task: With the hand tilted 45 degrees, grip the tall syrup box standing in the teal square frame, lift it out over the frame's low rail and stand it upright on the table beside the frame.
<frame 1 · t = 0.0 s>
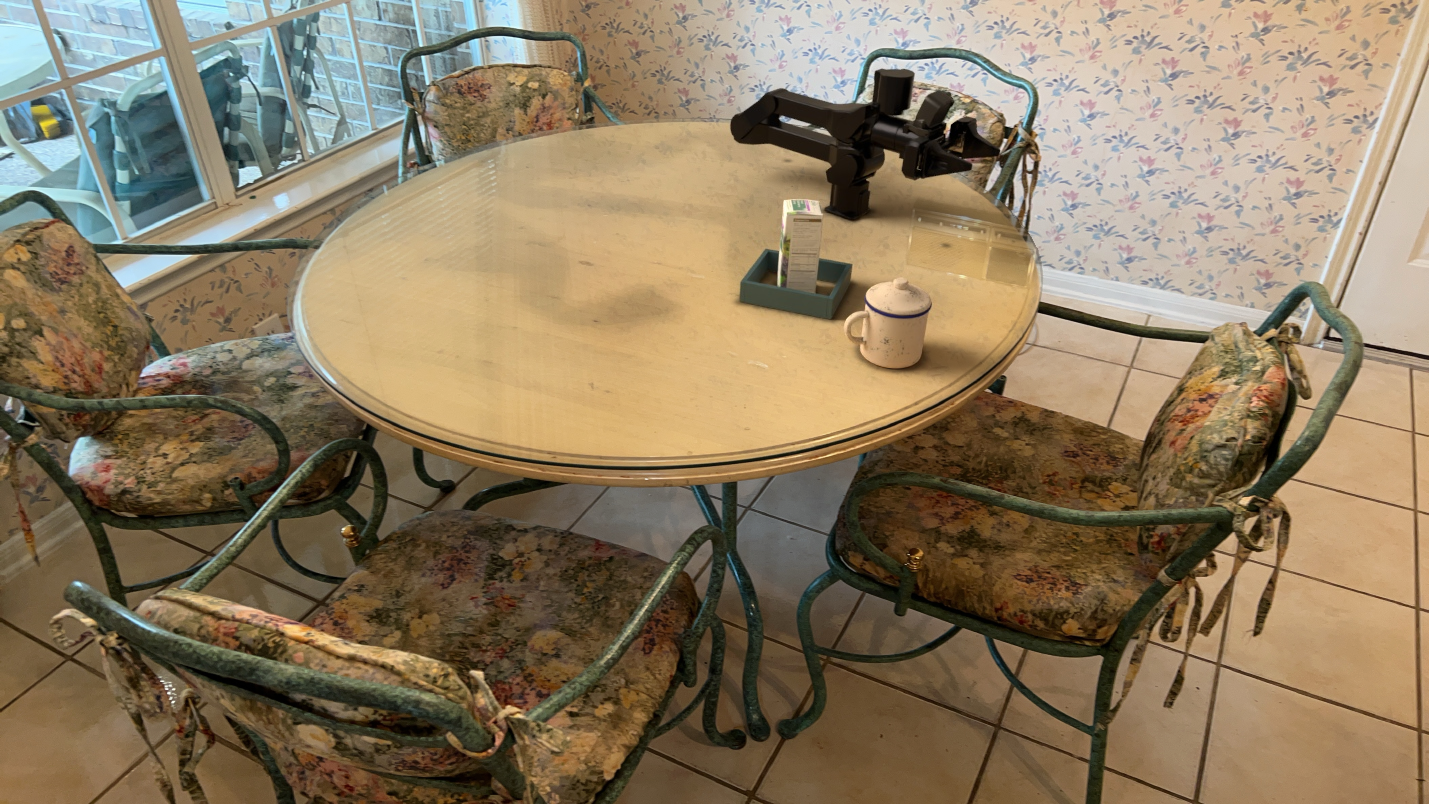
hand: (985, 160, 146), 17 cm above the table, tool horizontal, fingers open, 9 cm apart
teal square frame: (796, 292, 143), on the table
teacup with lid: (880, 355, 128), on the table
syrup box: (795, 293, 143), resting in teal square frame
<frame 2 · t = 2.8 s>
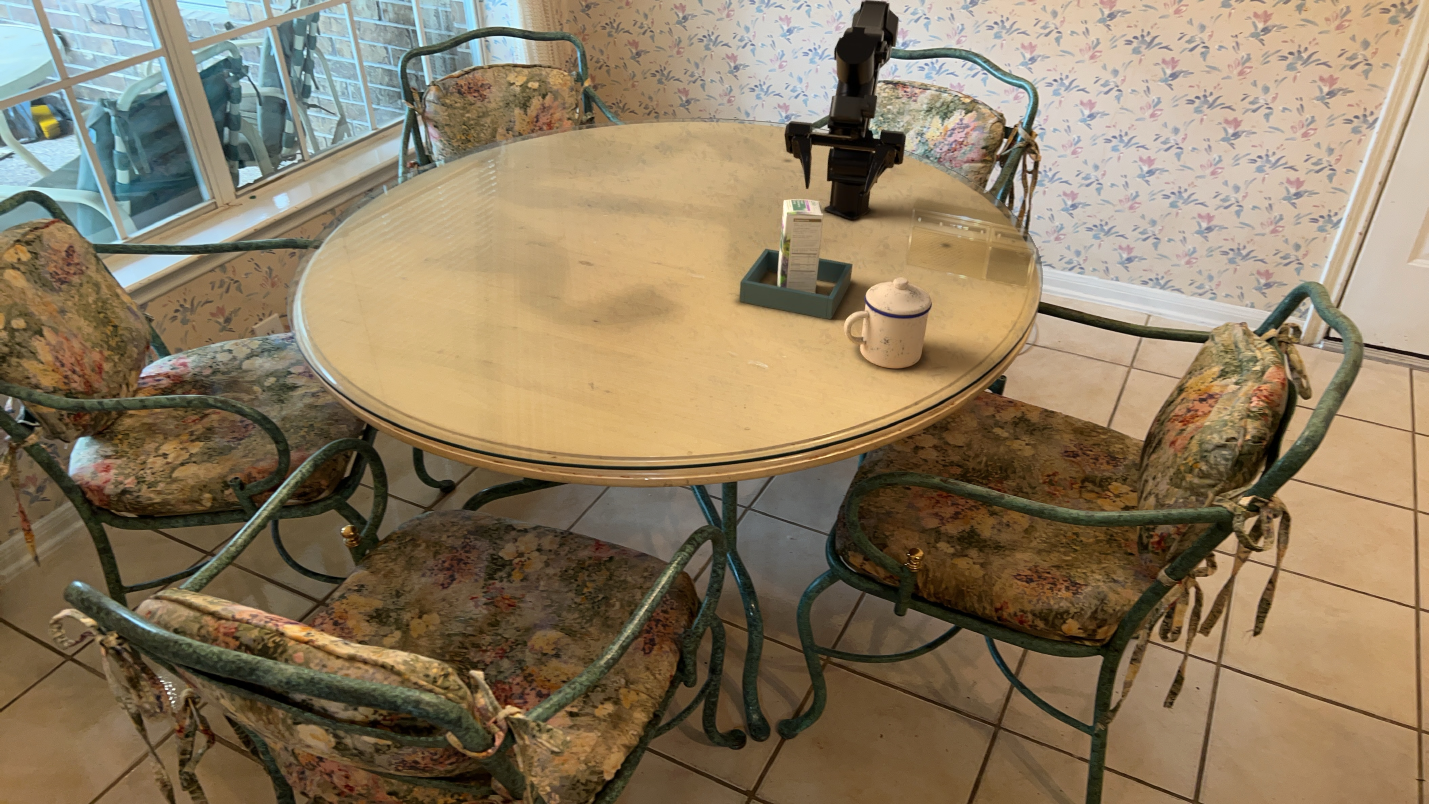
hand: (836, 191, 140), 14 cm above the table, tool tilted 50°, fingers open, 9 cm apart
nothing on the table moved.
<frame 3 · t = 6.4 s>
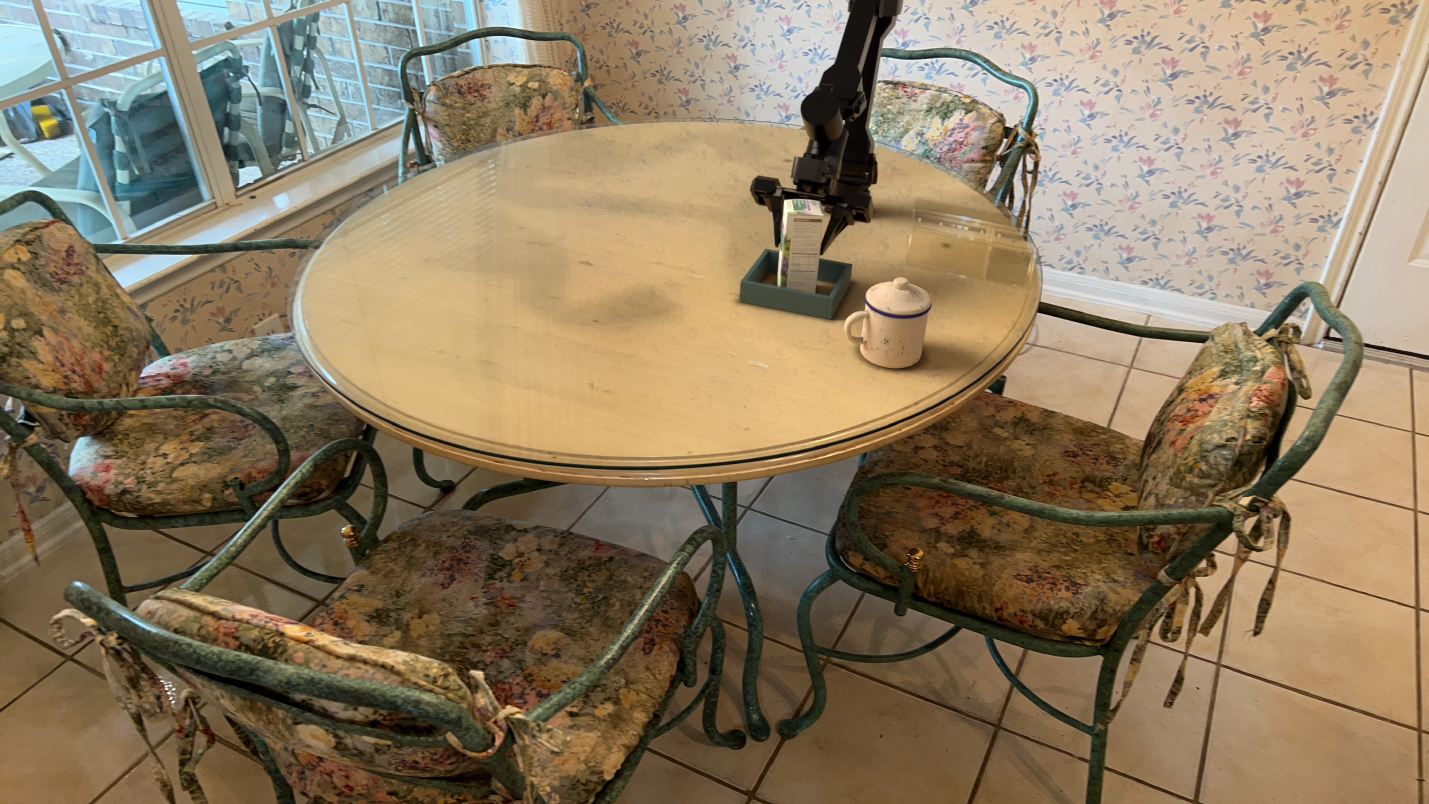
hand: (798, 250, 138), 7 cm above the table, tool tilted 45°, fingers closed on syrup box, 7 cm apart
syrup box: (795, 293, 143), resting in teal square frame, touching gripper
everything else where it was.
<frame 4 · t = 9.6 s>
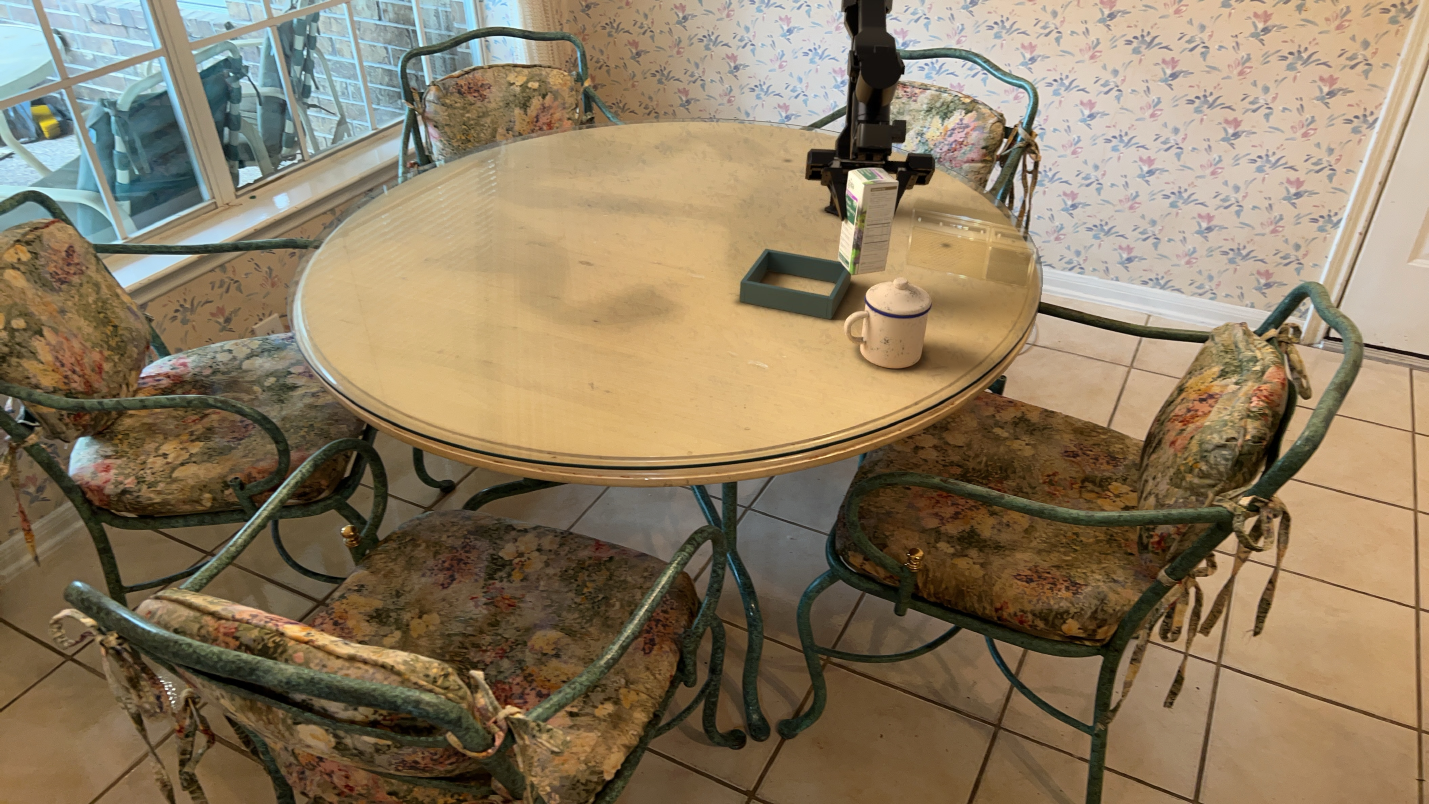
hand: (866, 221, 133), 13 cm above the table, tool tilted 45°, fingers closed on syrup box, 7 cm apart
syrup box: (861, 266, 138), point 6 cm above the table, touching gripper
everything else where it was.
when the fingers open (7 cm above the table, at t = 12.8 s): syrup box stays where it is, on the table.
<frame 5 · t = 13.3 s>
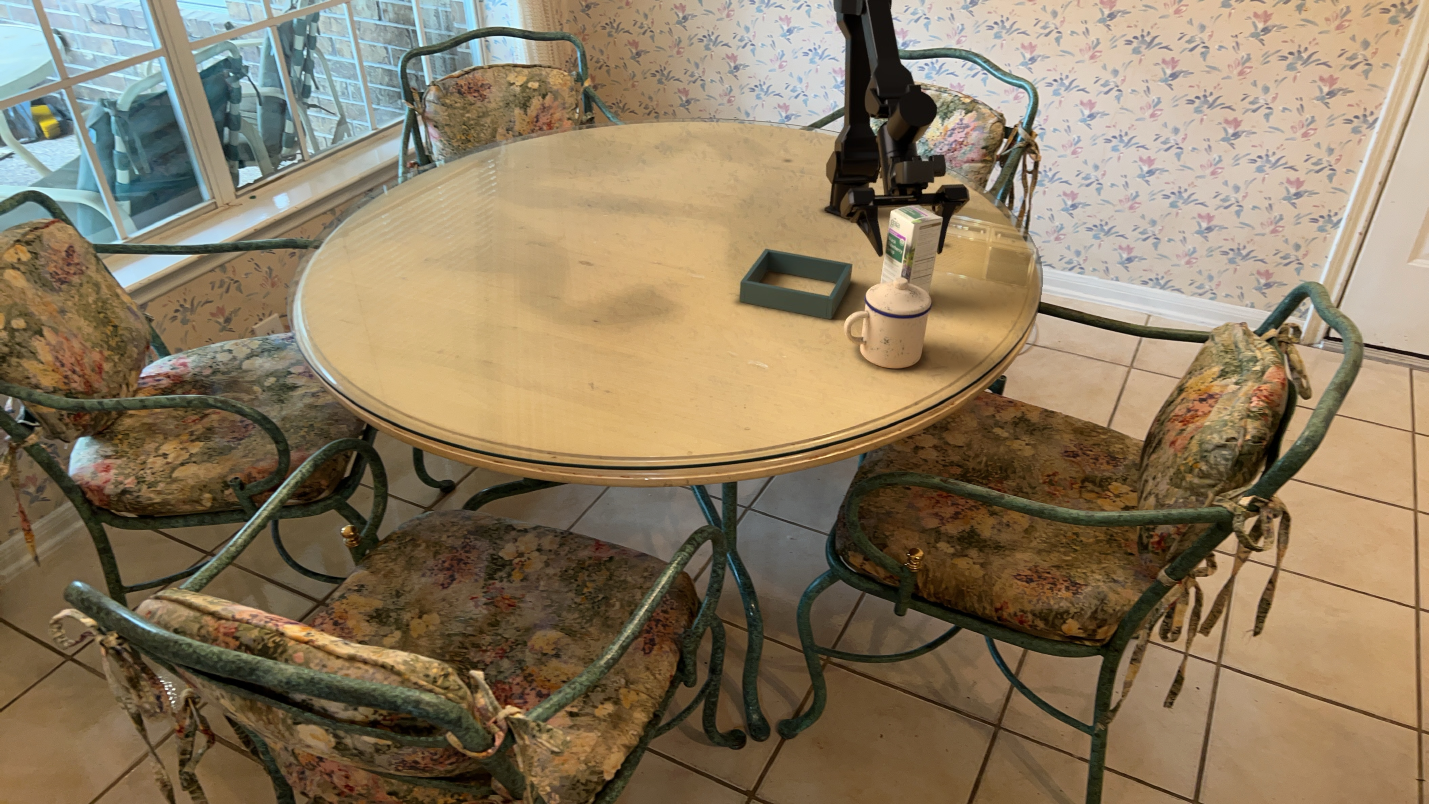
hand: (910, 254, 136), 8 cm above the table, tool tilted 45°, fingers open, 9 cm apart
syrup box: (902, 300, 141), on the table
everything else where it was.
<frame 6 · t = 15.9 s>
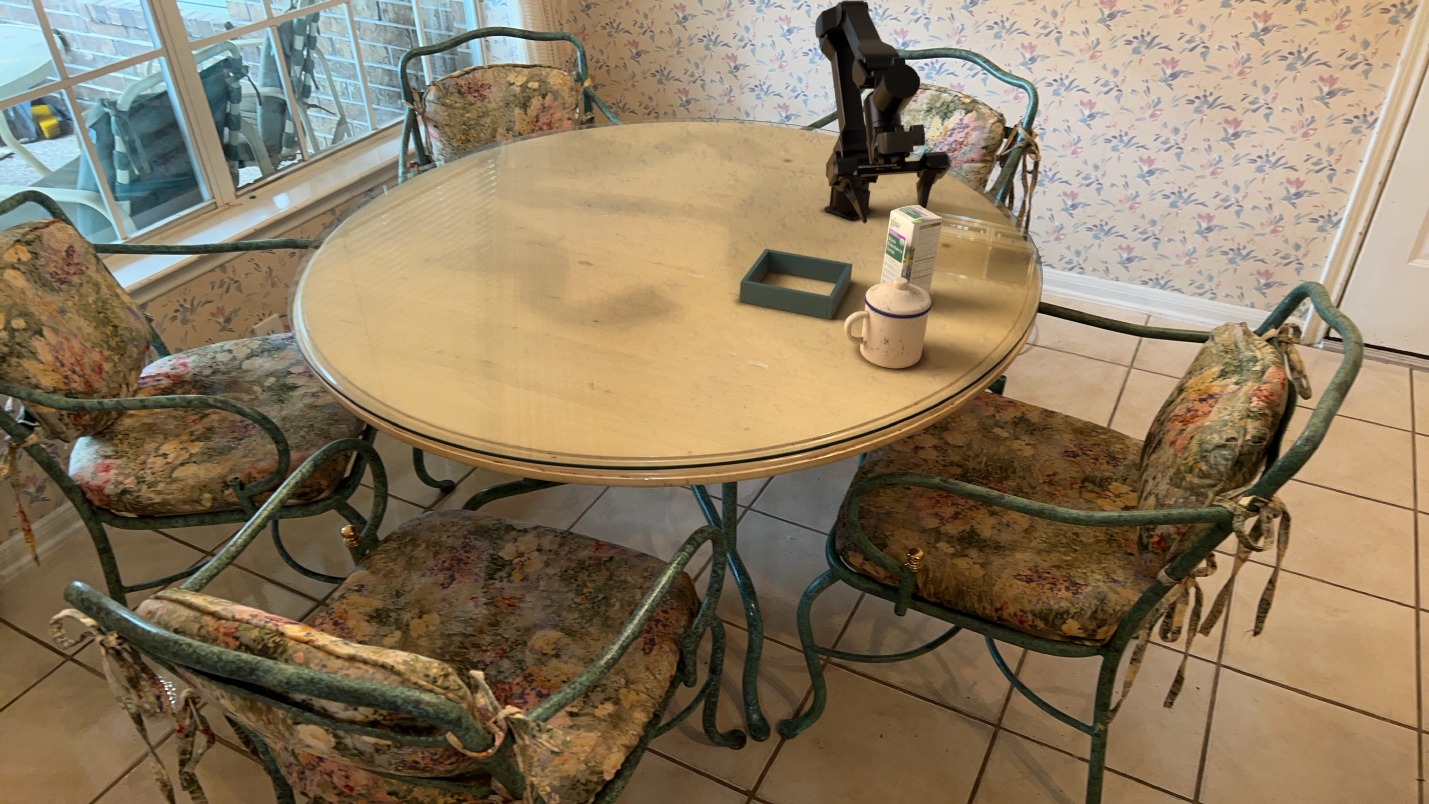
hand: (893, 220, 144), 9 cm above the table, tool tilted 40°, fingers open, 9 cm apart
nothing on the table moved.
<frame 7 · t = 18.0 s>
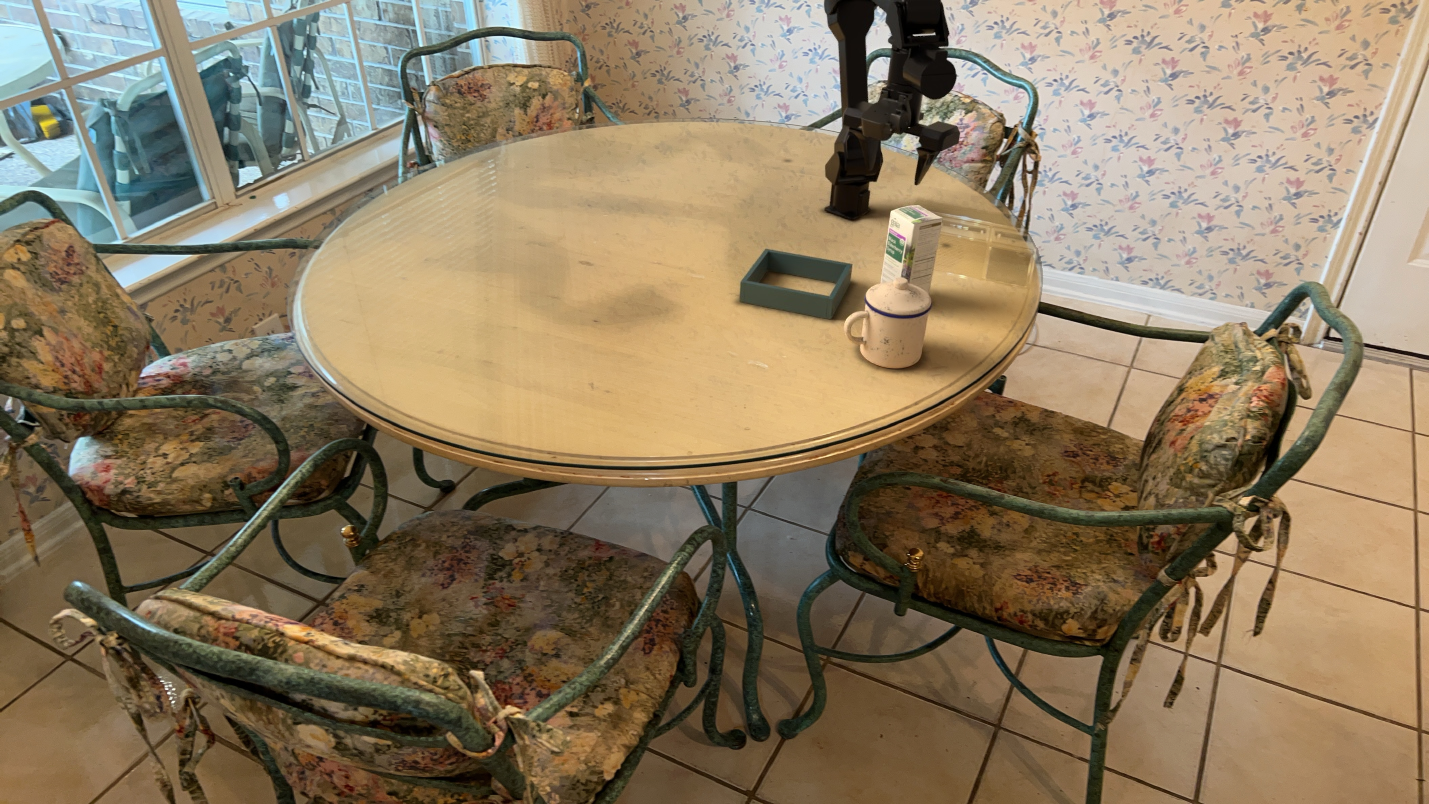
hand: (892, 177, 149), 13 cm above the table, tool pointing down, fingers open, 9 cm apart
nothing on the table moved.
at the end: syrup box inside the target area (0.3 cm from its centre), on the table; syrup box tilted 0°; the gripper is holding nothing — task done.
